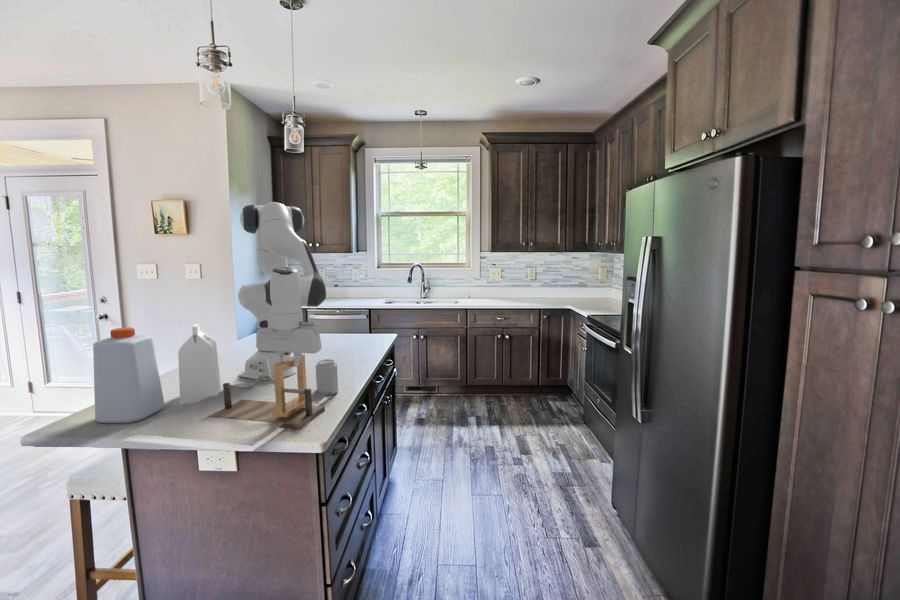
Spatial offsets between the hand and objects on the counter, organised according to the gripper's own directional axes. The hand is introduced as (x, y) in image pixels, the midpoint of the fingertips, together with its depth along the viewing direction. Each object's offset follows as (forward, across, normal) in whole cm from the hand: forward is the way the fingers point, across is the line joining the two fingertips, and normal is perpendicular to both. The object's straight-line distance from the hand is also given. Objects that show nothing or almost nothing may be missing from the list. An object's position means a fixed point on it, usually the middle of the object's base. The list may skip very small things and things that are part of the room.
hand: (290, 366), depth 131 cm
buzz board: (+16, +9, 0) cm, 19 cm away
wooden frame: (+14, 0, 0) cm, 14 cm away
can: (+17, +1, -23) cm, 29 cm away
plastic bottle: (+17, +53, +8) cm, 56 cm away
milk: (+17, +44, -11) cm, 48 cm away
